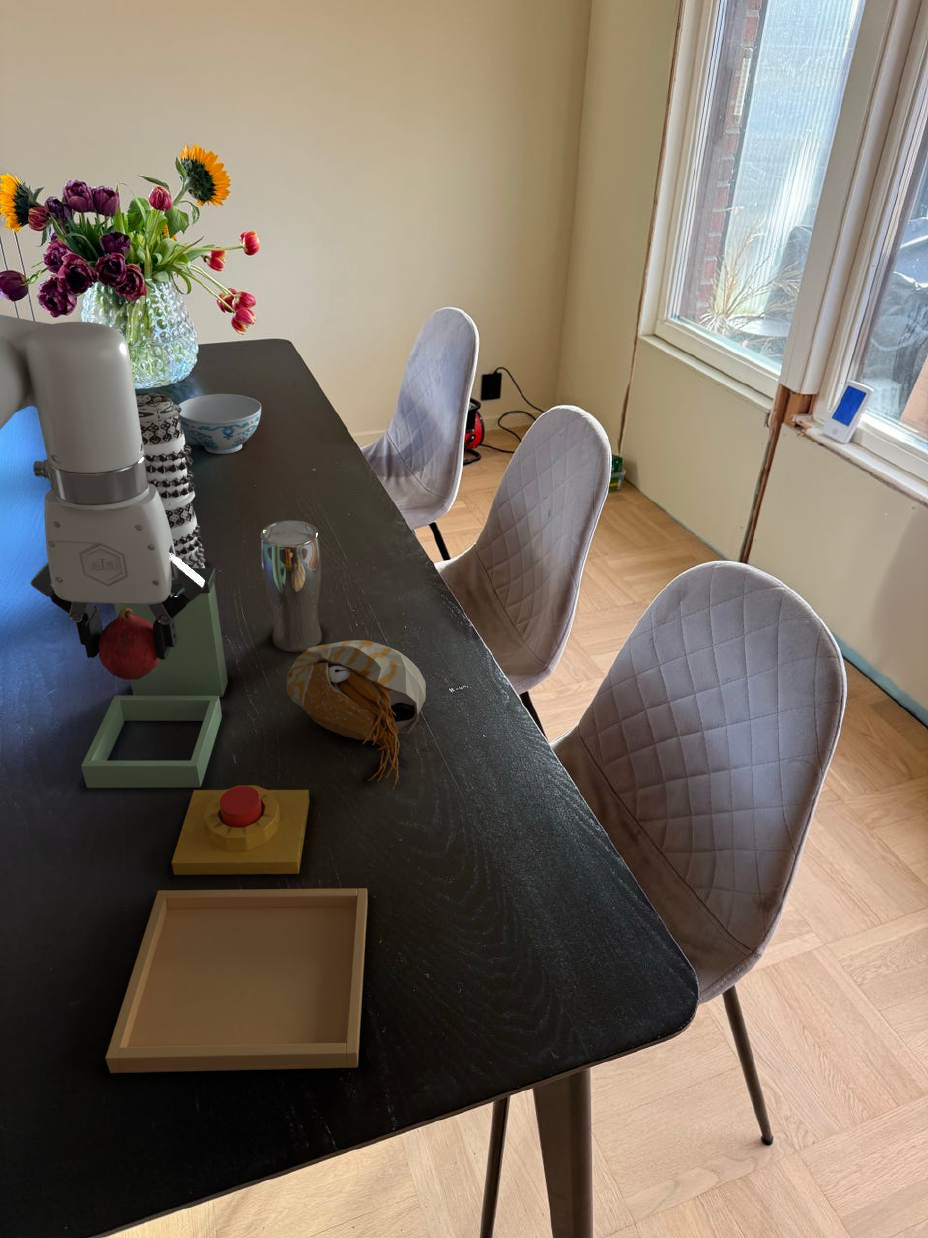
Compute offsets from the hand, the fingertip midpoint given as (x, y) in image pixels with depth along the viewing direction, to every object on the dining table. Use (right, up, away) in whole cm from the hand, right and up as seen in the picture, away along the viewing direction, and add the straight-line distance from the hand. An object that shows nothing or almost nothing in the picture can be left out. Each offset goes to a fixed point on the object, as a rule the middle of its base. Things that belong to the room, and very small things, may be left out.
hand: (131, 649), depth 82 cm
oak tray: (+15, -26, -15) cm, 33 cm away
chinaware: (-13, +35, +77) cm, 86 cm away
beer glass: (+11, 0, +26) cm, 28 cm away
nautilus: (+21, -10, +11) cm, 26 cm away
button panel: (+12, -18, -2) cm, 21 cm away
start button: (+12, -15, -4) cm, 19 cm away
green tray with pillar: (0, -9, +10) cm, 14 cm away
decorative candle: (-9, +9, +38) cm, 40 cm away
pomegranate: (0, -3, +2) cm, 4 cm away
